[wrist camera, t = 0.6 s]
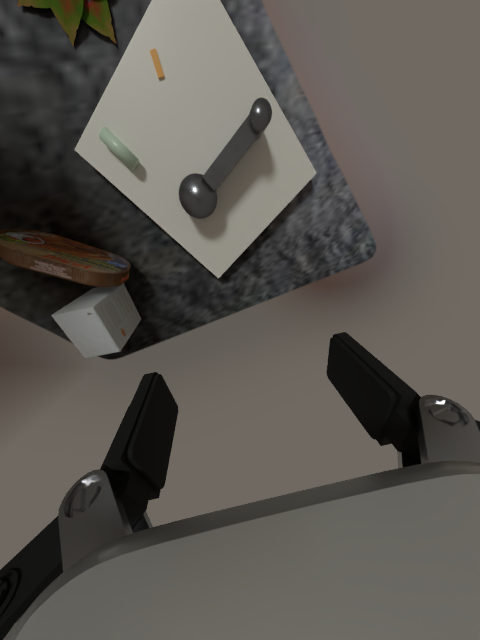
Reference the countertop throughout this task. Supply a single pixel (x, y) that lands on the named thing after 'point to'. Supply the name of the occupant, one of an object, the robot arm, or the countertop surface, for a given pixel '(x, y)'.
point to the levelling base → (193, 130)
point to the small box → (99, 320)
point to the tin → (63, 258)
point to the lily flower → (77, 14)
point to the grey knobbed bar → (223, 163)
